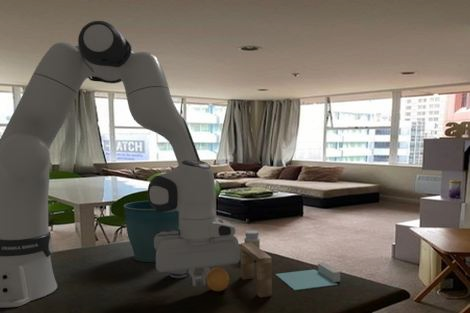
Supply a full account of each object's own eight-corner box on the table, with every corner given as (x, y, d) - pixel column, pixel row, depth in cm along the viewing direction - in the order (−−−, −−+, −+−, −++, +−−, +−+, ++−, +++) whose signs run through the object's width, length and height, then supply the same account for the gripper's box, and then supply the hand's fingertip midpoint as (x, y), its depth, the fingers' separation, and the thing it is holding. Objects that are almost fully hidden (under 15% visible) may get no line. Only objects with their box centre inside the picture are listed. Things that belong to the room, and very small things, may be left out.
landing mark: (294, 290, 96) (294, 289, 96) (275, 274, 107) (275, 273, 107) (337, 284, 99) (337, 284, 99) (314, 270, 110) (314, 269, 110)
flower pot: (161, 246, 137) (160, 198, 136) (194, 256, 124) (193, 203, 123) (113, 257, 124) (112, 204, 123) (145, 270, 111) (144, 211, 111)
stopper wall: (333, 282, 101) (333, 272, 101) (318, 272, 109) (318, 263, 108) (340, 281, 102) (340, 271, 101) (324, 271, 109) (324, 262, 109)
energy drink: (185, 279, 104) (185, 234, 104) (166, 277, 105) (166, 233, 105) (191, 272, 109) (191, 230, 109) (173, 271, 110) (173, 229, 110)
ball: (215, 268, 93) (235, 277, 94) (210, 261, 98) (229, 269, 99) (205, 290, 92) (225, 298, 94) (200, 281, 97) (219, 289, 99)
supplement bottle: (249, 255, 125) (248, 229, 125) (262, 257, 123) (262, 231, 123) (241, 259, 121) (241, 232, 121) (255, 261, 119) (255, 234, 118)
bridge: (259, 297, 92) (259, 258, 91) (240, 277, 105) (240, 243, 105) (271, 295, 92) (271, 257, 92) (251, 275, 106) (251, 242, 106)
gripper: (154, 235, 88) (156, 295, 88) (241, 227, 94) (242, 284, 94) (152, 228, 94) (154, 285, 94) (234, 222, 100) (235, 275, 100)
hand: (199, 284), depth 94 cm, fingers closed
